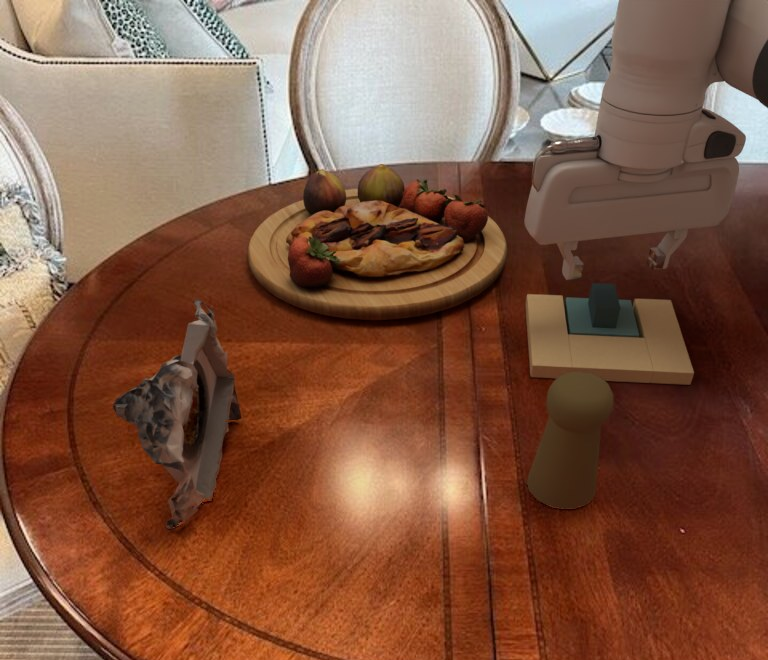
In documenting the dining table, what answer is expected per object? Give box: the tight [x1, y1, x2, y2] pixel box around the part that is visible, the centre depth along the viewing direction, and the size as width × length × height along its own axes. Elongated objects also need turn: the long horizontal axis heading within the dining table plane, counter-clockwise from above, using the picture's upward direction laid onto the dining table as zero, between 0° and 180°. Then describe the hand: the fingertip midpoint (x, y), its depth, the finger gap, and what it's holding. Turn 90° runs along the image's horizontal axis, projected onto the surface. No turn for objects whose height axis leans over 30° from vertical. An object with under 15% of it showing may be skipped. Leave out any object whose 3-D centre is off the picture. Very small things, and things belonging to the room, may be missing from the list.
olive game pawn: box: [526, 372, 614, 509], centre depth 65 cm, size 6×6×11 cm
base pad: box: [525, 293, 695, 386], centre depth 84 cm, size 16×14×2 cm
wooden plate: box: [246, 163, 508, 321], centre depth 95 cm, size 32×32×8 cm
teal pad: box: [564, 282, 639, 338], centre depth 85 cm, size 7×7×4 cm
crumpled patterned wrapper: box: [112, 298, 242, 531], centre depth 65 cm, size 15×4×13 cm, turn 174°
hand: (614, 271), depth 81 cm, fingers open, 8 cm apart
